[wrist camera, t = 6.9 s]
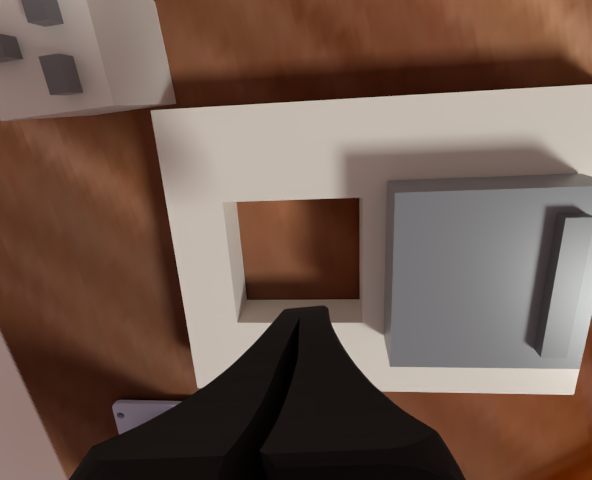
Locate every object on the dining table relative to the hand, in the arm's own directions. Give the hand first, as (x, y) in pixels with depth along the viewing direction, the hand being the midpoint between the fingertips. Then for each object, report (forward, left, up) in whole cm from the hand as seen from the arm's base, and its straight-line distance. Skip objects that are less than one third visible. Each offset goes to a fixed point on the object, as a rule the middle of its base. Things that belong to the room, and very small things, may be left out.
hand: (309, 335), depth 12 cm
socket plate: (-1, -3, -10) cm, 10 cm away
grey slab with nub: (-1, -7, -7) cm, 10 cm away
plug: (+9, +9, -10) cm, 16 cm away
